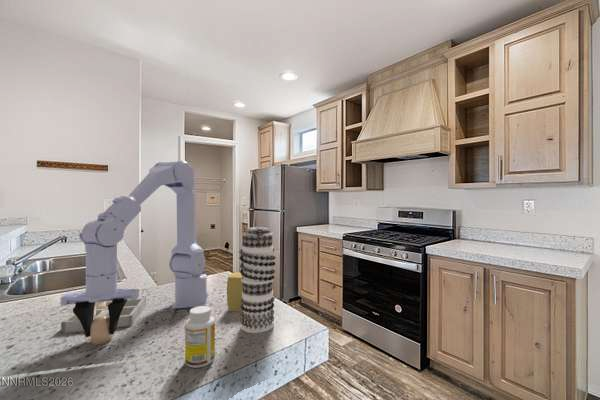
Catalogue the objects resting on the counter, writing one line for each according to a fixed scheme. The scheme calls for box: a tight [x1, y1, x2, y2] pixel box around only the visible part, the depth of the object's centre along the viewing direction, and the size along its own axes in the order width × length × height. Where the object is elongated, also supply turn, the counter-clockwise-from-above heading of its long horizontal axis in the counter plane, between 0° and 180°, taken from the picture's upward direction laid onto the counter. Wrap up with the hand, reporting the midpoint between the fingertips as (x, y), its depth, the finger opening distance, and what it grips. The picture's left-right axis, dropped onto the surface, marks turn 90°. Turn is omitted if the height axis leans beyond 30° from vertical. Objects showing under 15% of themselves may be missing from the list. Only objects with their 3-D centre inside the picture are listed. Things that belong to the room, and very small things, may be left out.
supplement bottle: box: [184, 305, 216, 369], centre depth 55 cm, size 6×6×10 cm
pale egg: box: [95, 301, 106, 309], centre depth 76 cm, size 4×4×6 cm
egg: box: [89, 315, 113, 345], centre depth 62 cm, size 4×4×6 cm
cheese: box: [226, 271, 243, 312], centre depth 85 cm, size 10×11×10 cm
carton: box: [60, 297, 147, 334], centre depth 74 cm, size 15×14×3 cm
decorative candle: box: [239, 226, 276, 334], centre depth 71 cm, size 9×9×25 cm
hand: (101, 333), depth 62 cm, fingers closed on egg, 4 cm apart
